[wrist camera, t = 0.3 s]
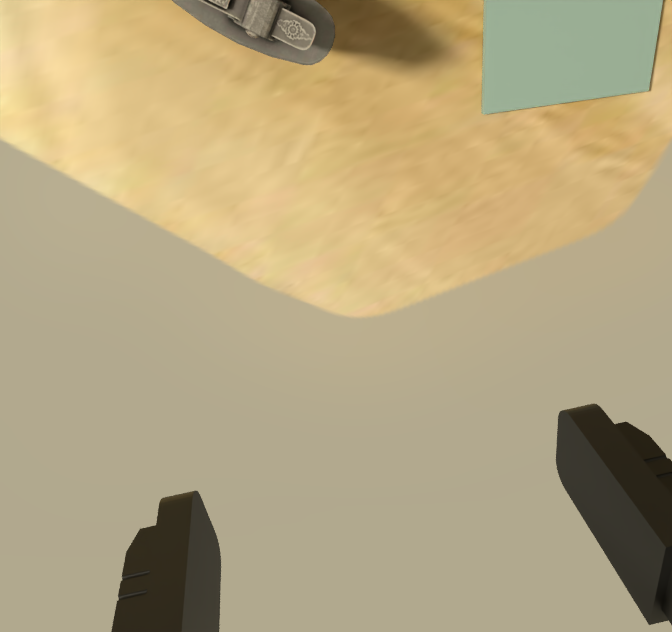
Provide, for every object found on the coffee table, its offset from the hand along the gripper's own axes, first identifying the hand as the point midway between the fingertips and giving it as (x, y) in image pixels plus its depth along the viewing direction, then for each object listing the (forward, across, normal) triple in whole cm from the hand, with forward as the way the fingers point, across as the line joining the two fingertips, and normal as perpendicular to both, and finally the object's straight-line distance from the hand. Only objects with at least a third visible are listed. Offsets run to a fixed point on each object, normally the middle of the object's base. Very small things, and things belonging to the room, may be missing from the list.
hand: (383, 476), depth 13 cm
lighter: (+29, +1, -8) cm, 30 cm away
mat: (+28, -18, -6) cm, 34 cm away
